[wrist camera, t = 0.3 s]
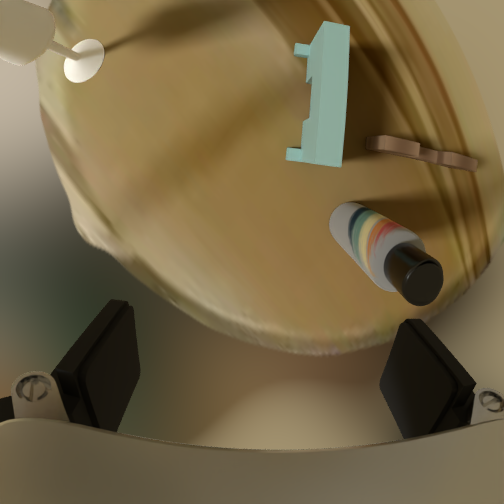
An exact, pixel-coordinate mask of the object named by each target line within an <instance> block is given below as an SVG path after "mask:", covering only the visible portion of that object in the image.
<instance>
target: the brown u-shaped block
mask: <svg viewBox="0 0 504 504" xmlns="http://www.w3.org/2000/svg"><path fill="white" fill-rule="evenodd" d="M366 149H367V150H373V151H378V152H383V153H388V154H393V155H398V156H403V157H408V158H412V159H416V160H421V161H425V162H429V163H433V164H437V165H441V166H445V167H449V168H454V169H460V170H466V171H472V172H477V162H478V160H476V159H473V158H470V157H467V156H464V155H460V154H457V153H454V152H443V151H435V150H431V149H428V148H424V147H420V143H417V142H413V141H409V140H405V139H401V138H396V137H392V136H387V135H382V136H371V137H367V139H366Z"/></svg>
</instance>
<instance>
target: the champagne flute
mask: <svg viewBox="0 0 504 504" xmlns="http://www.w3.org/2000/svg"><path fill="white" fill-rule="evenodd" d="M54 35H55V19H54V16H53V14H52V13H51V12H50V11H49V10H48V9H46V8H43V7H40V6H37V5H35V4H32V3H29V2H27V1H24V0H0V59H2V60H4V61H7V62H9V63H11V64H14V65H25V64H27V63H30V62H32V61H34V60H35V59H37V58H38V57H40V56H41V55H42V54H43V53H44V52H45V51H46V50H47V49H48V50H50V51H52V52H55V53H57V54H60V55H62V56H64V57H66V60H65V63H64V72H65V75H66V77H67V78H68V79H69V80H70V81H72V82H76V83H78V82H83V81H86V80H88V79H90V78H91V77H92V76H93V75H95V74H96V72H97V71H98V70H99V68H100V67H101V65H102V62H103V59H104V48H103V45H102V44H101V43H100V42H99V41H98V40H95V39H86V40H83V41H81V42H79V43H78V44H76V45H75V46H74V47H73V48H72V49H69V48H67V47H65V46H63V45H61V44H59V43H57V42H54V41H52V40H53V38H54Z"/></svg>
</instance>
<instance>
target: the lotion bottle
mask: <svg viewBox="0 0 504 504" xmlns="http://www.w3.org/2000/svg"><path fill="white" fill-rule="evenodd" d="M329 226H330V231H331V234H332V236H333V237H334V239H335V240H336V241H337V242H338V243H339V244H340V246H341V247H342V248H343V249H344V250H345V251H346V252H347V253H348V254H349V255H350V256H351V257H352V258H353V260H354V261H355V262H356V263H357V264H358V265H359V266H360V267H361V268H362V269H363V271H364V272H365V273H366V274H367V275H368V276H369V277H370V278H371V279H372V280H373V281H374V283H375V284H377V285H378V286H379V287H380V288H382V289H384V290H386V291H390V292H396V291H398V292H399V293H400V294H401V295H402V296H403V297H404V298H405V299H406V300H407V301H408V302H409V303H411V304H413V305H416V306H424V305H427V304H429V303H431V302H432V301H433V300H435V298H436V297H437V296H438V294H439V292H440V290H441V288H442V285H443V270H442V267H441V264H440V263H439V262H438V261H437V260H436V259H434V258H433V257H431V256H430V255H428V254H427V253H426V250H425V246H424V244H423V242H422V240H421V239H420V238H419V237H418V236H417V235H416V234H415V233H413V232H412V231H410V230H408V229H407V228H405V227H403V226H401V225H399V224H398V223H396V222H394V221H392V220H390V219H388V218H386V217H384V216H382V215H381V214H379V213H377V212H375V211H373V210H371V209H369V208H367V207H365V206H363V205H361V204H358V203H354V202H348V203H344V204H341V205H340V206H338V207H337V208H336V209H335V210H334V211H333V213H332V215H331V217H330V222H329Z"/></svg>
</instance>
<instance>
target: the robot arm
mask: <svg viewBox="0 0 504 504" xmlns="http://www.w3.org/2000/svg"><path fill="white" fill-rule="evenodd" d="M139 376H140V363H139V355H138V348H137V338H136V329H135V320H134V310H133V307H132V306H129V304H128V302H127V301H122V300H114V299H111V300H110V301H109V302H108V303H107V305H106V306H105V307H104V308H103V309H102V310H101V312H100V313H99V314H98V315H97V316H96V318H95V319H94V320H93V321H92V322H91V324H90V325H89V326H88V327H87V329H86V330H85V331H84V332H83V333H82V335H81V336H80V337H79V338H78V340H77V341H76V342H75V344H74V345H73V346H72V347H71V348H70V350H69V351H68V352H67V354H66V355H65V356H64V357H63V359H62V360H61V361H60V363H59V364H58V365H57V366H56V368H55V369H54V370H53V372H52V373H51V375H49V374H47V373H44V372H39V371H36V372H29V373H25V374H23V375H21V376H20V377H18V378H17V379H16V380H15V381H14V383H13V385H12V387H11V395H12V396H9V397H5V398H1V399H0V504H504V396H503V395H502V394H501V393H500V392H498V391H496V390H494V389H490V388H482V389H479V390H478V391H477V392H476V394H474V392H473V389H474V387H475V385H476V382H475V381H474V380H473V378H472V377H471V376H470V375H469V374H468V372H467V371H466V370H465V369H464V368H463V366H462V365H461V364H460V363H459V362H458V361H457V359H456V358H455V357H454V356H453V355H452V353H451V352H450V351H449V350H448V349H447V348H446V346H445V345H444V344H443V343H442V342H441V341H440V340H439V339H438V337H437V336H436V335H435V334H434V333H433V332H432V331H431V330H430V328H429V327H428V326H427V325H426V324H425V323H424V322H423V321H422V320H421V319H406V320H405V321H404V322H403V323H401V324H400V326H399V329H398V332H397V335H396V338H395V341H394V344H393V347H392V349H391V352H390V355H389V358H388V361H387V364H386V366H385V369H384V372H383V374H382V377H381V379H380V390H381V391H382V394H383V396H384V398H385V400H386V402H387V404H388V406H389V408H390V410H391V412H392V414H393V416H394V419H395V421H396V423H397V425H398V427H399V429H400V431H401V433H402V436H403V438H404V439H402V440H396V441H390V442H383V443H376V444H368V445H359V446H350V447H338V448H324V449H301V450H259V449H257V450H256V449H234V448H220V447H208V446H198V445H190V444H182V443H175V442H168V441H162V440H155V439H149V438H143V437H138V436H133V435H127V434H122V433H118V432H117V429H118V427H119V425H120V422H121V420H122V417H123V415H124V412H125V410H126V408H127V405H128V403H129V401H130V398H131V396H132V393H133V391H134V389H135V387H136V384H137V382H138V380H139Z"/></svg>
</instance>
